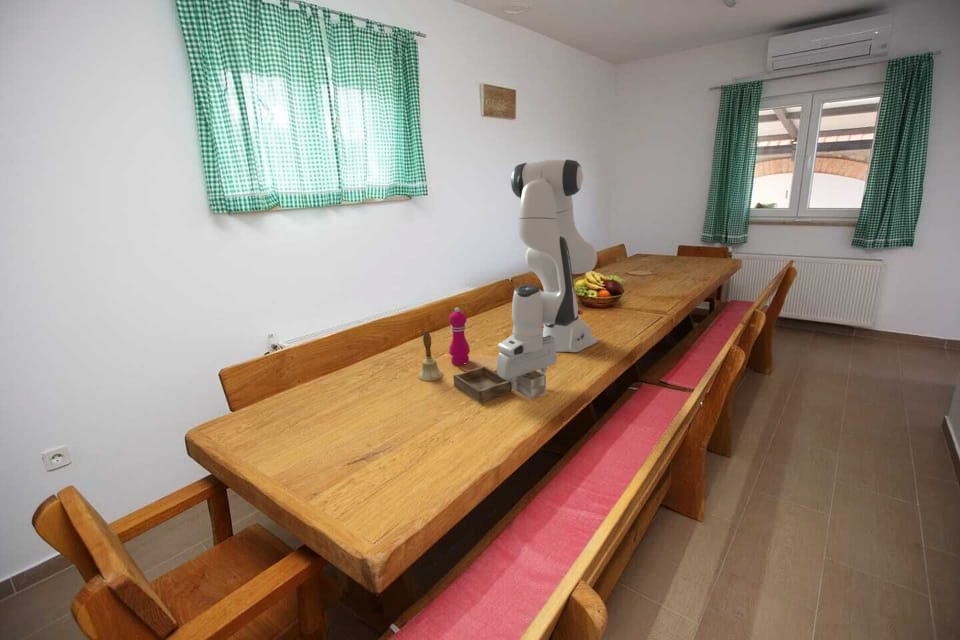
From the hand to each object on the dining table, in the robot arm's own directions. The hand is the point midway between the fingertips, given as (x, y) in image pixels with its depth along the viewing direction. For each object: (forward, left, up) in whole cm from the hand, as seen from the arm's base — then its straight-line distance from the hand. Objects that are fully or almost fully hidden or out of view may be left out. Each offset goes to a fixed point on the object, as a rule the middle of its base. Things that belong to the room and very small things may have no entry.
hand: (528, 384), depth 140 cm
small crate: (0, 0, -2) cm, 2 cm away
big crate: (+10, -10, -2) cm, 14 cm away
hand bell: (+18, -29, -2) cm, 34 cm away
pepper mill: (+4, -33, -2) cm, 33 cm away
